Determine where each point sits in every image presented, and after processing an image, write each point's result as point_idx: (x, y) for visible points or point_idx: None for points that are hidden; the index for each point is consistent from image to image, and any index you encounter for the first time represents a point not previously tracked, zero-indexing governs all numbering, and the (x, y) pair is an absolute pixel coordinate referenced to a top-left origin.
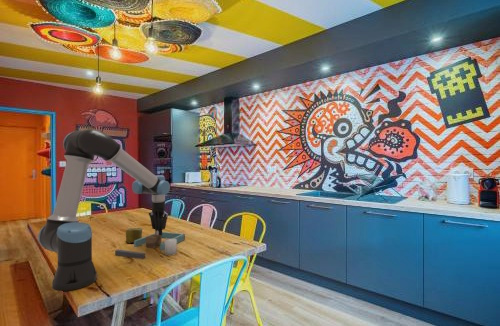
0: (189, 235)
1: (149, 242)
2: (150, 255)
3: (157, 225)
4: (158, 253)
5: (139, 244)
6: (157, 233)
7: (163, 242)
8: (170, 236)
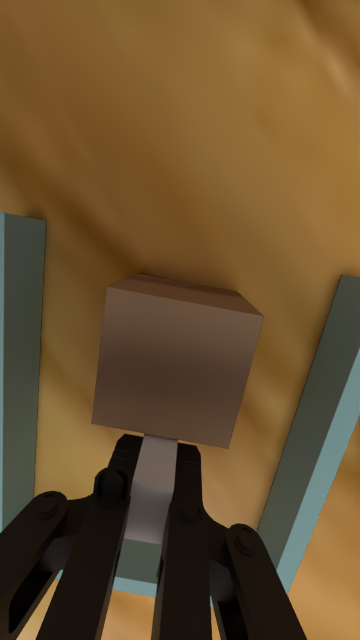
0: (44, 601)
1: (195, 291)
2: (44, 40)
3: (159, 611)
4: (4, 124)
5: (331, 327)
6: (154, 449)
7: (4, 278)
8: (141, 545)
